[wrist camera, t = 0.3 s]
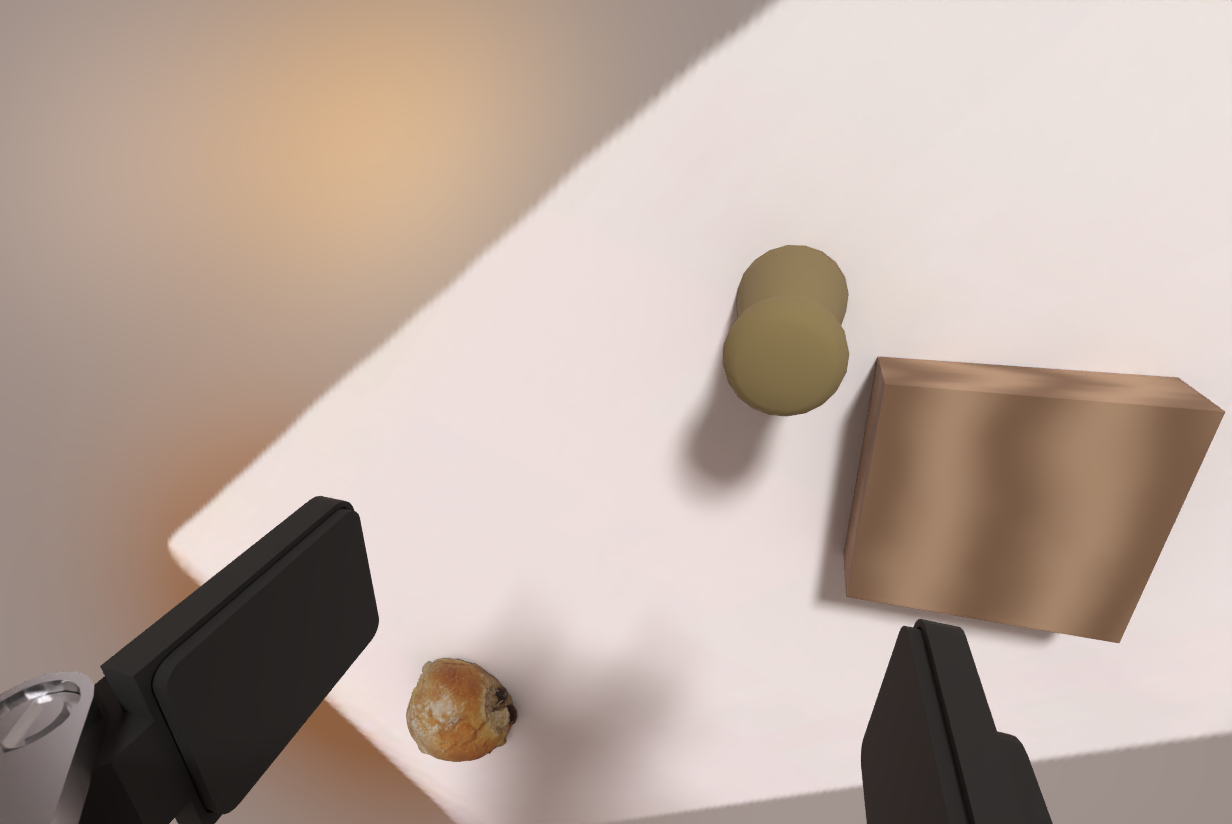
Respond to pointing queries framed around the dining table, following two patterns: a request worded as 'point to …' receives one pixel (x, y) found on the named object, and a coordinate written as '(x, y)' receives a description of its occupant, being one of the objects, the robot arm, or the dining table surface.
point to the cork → (788, 332)
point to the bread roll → (459, 711)
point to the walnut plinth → (1021, 491)
